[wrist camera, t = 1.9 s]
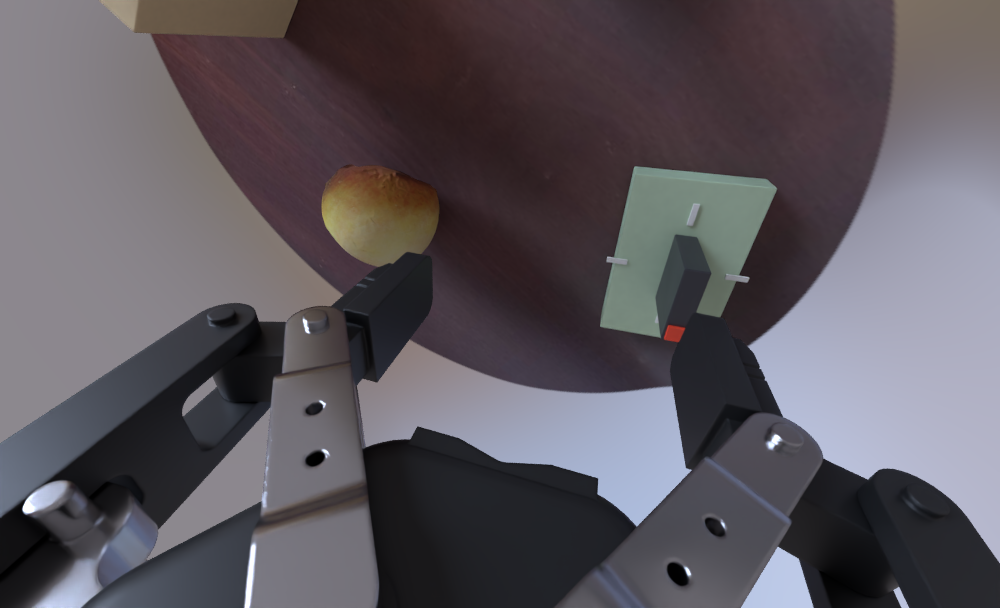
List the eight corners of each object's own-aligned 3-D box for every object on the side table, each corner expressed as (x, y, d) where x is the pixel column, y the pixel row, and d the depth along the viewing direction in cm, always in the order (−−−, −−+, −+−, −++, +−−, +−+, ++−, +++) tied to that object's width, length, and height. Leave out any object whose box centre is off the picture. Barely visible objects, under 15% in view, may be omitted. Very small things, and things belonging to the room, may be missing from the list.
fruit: (345, 171, 31) (273, 203, 25) (425, 126, 28) (364, 149, 21) (395, 252, 34) (343, 299, 28) (473, 221, 31) (433, 266, 24)
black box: (674, 233, 25) (685, 271, 21) (697, 236, 25) (713, 275, 20) (654, 297, 28) (660, 342, 24) (675, 300, 28) (684, 346, 23)
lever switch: (625, 165, 25) (625, 173, 24) (778, 180, 24) (790, 190, 22) (594, 311, 32) (592, 326, 30) (711, 332, 30) (716, 349, 29)
